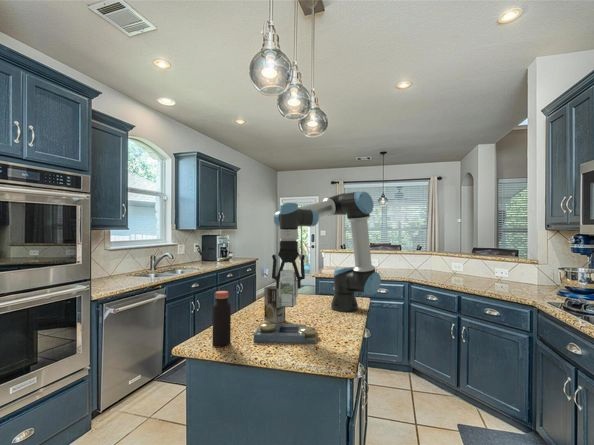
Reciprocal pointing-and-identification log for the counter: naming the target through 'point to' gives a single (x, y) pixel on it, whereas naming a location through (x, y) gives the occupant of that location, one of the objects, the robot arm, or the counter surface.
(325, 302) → the counter surface
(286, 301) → the syrup box
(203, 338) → the counter surface
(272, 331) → the knobbed grey frame
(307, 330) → the grey base plate
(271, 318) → the coffee box
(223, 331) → the bottle
